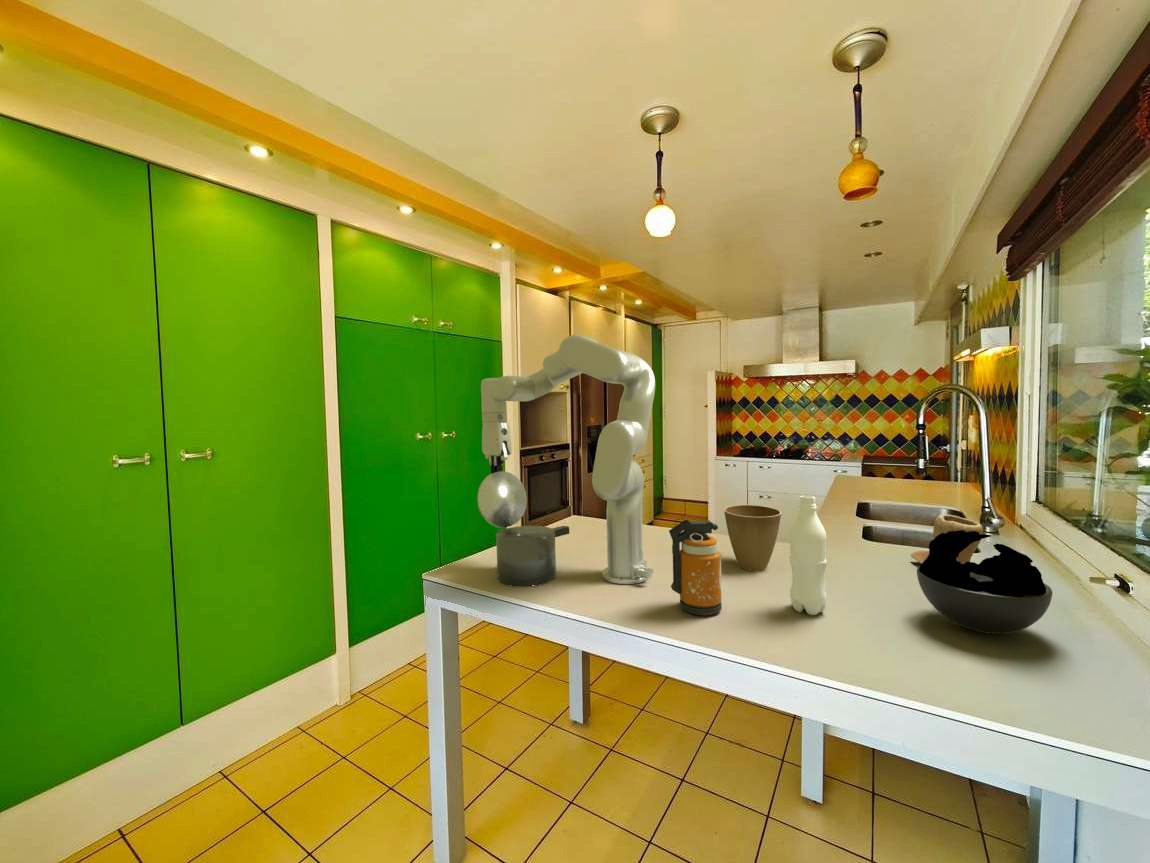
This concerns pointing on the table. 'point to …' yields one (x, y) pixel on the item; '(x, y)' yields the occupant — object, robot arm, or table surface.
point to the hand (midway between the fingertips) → (496, 478)
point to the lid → (502, 499)
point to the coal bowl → (983, 585)
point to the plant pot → (752, 533)
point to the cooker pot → (527, 554)
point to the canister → (696, 567)
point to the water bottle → (808, 559)
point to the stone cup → (953, 524)
